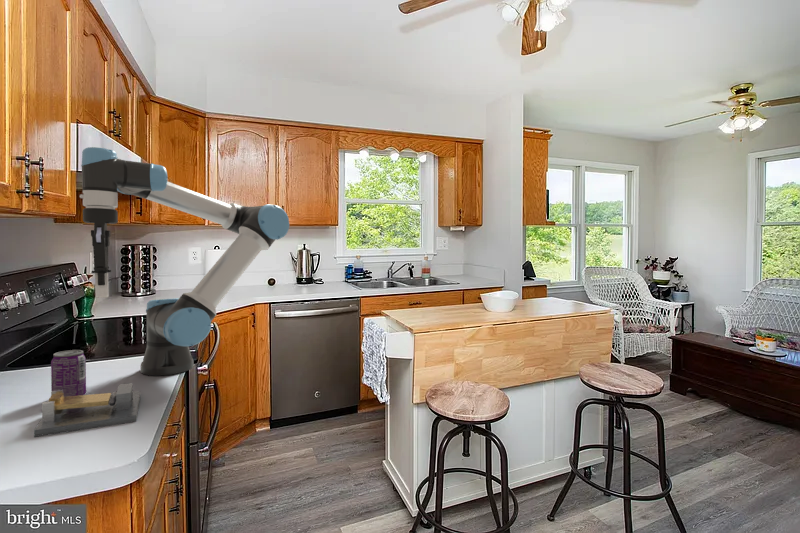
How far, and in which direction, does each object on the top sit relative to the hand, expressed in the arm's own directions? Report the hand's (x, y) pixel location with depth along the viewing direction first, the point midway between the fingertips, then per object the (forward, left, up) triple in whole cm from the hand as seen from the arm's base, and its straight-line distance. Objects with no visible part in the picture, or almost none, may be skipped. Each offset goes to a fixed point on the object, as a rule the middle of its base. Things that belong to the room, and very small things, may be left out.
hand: (102, 297), depth 112 cm
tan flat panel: (+12, +9, -23) cm, 28 cm away
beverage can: (+5, -5, -26) cm, 27 cm away
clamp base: (+11, +11, -26) cm, 30 cm away
